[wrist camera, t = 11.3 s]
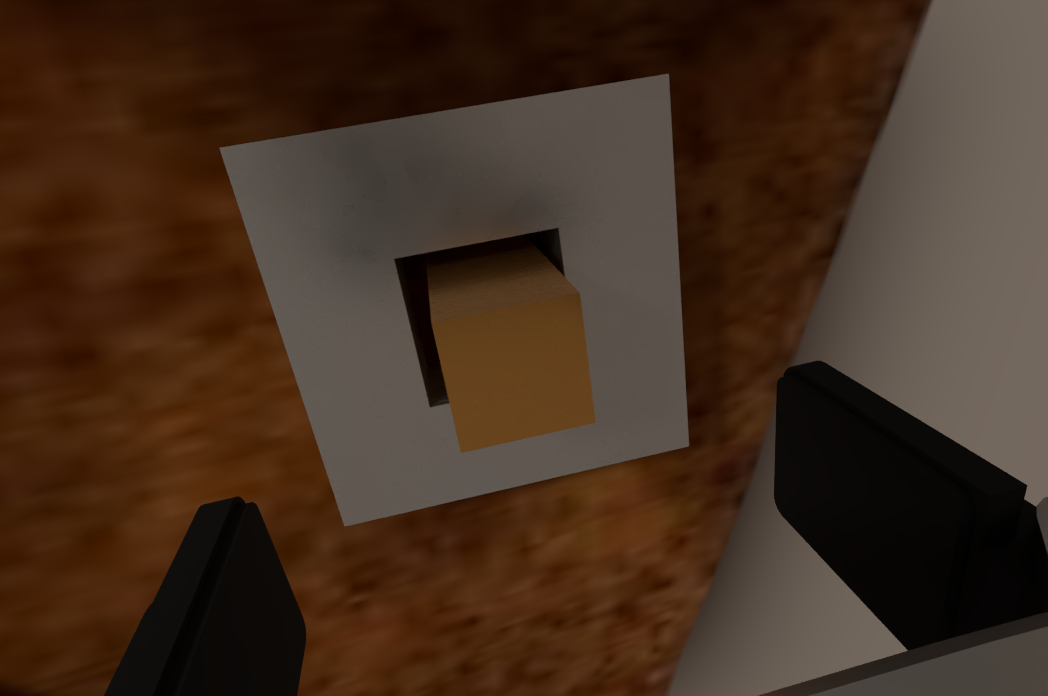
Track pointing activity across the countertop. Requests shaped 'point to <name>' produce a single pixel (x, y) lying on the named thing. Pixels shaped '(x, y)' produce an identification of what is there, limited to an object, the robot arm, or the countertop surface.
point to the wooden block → (508, 342)
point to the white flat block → (457, 220)
